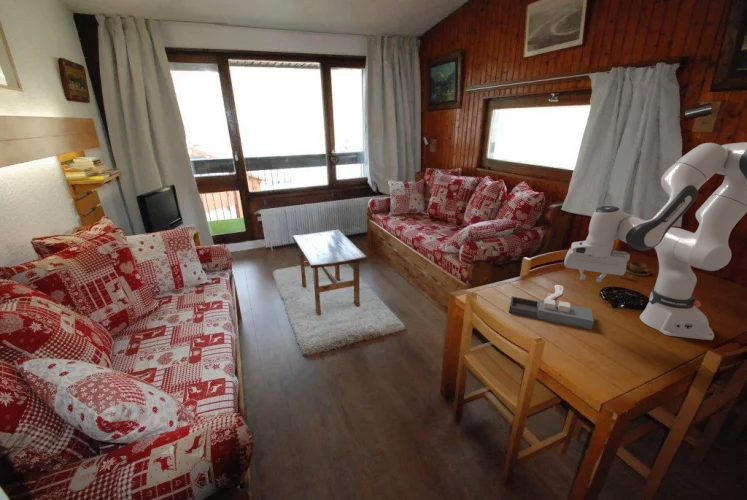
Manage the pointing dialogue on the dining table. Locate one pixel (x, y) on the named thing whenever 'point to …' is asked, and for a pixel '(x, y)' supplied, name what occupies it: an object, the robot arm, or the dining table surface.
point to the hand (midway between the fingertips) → (590, 280)
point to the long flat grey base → (567, 315)
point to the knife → (557, 293)
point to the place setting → (637, 269)
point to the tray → (523, 307)
